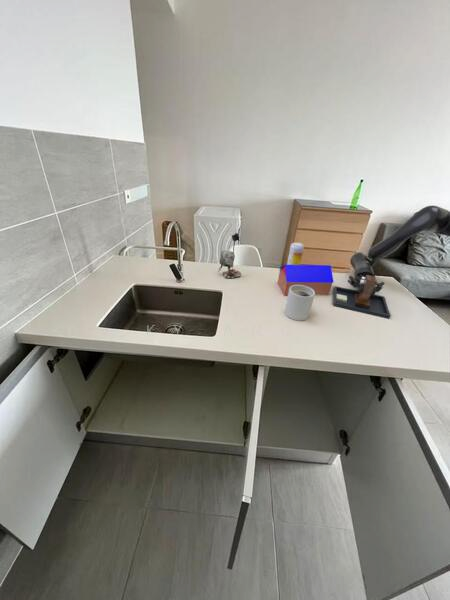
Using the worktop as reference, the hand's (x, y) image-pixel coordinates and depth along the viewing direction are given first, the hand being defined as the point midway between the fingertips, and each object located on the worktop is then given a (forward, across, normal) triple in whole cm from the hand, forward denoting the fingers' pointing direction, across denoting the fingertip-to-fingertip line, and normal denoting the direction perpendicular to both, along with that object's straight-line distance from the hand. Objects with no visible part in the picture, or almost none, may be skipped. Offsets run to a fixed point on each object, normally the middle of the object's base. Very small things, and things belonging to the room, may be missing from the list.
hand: (367, 292), depth 93 cm
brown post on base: (-3, 0, +7) cm, 7 cm away
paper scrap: (-3, -8, +7) cm, 11 cm away
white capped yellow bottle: (-20, -31, +8) cm, 37 cm away
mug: (+15, -23, +8) cm, 28 cm away
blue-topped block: (-5, -24, +8) cm, 26 cm away
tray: (-3, -1, +7) cm, 8 cm away
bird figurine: (-3, -58, +8) cm, 58 cm away
